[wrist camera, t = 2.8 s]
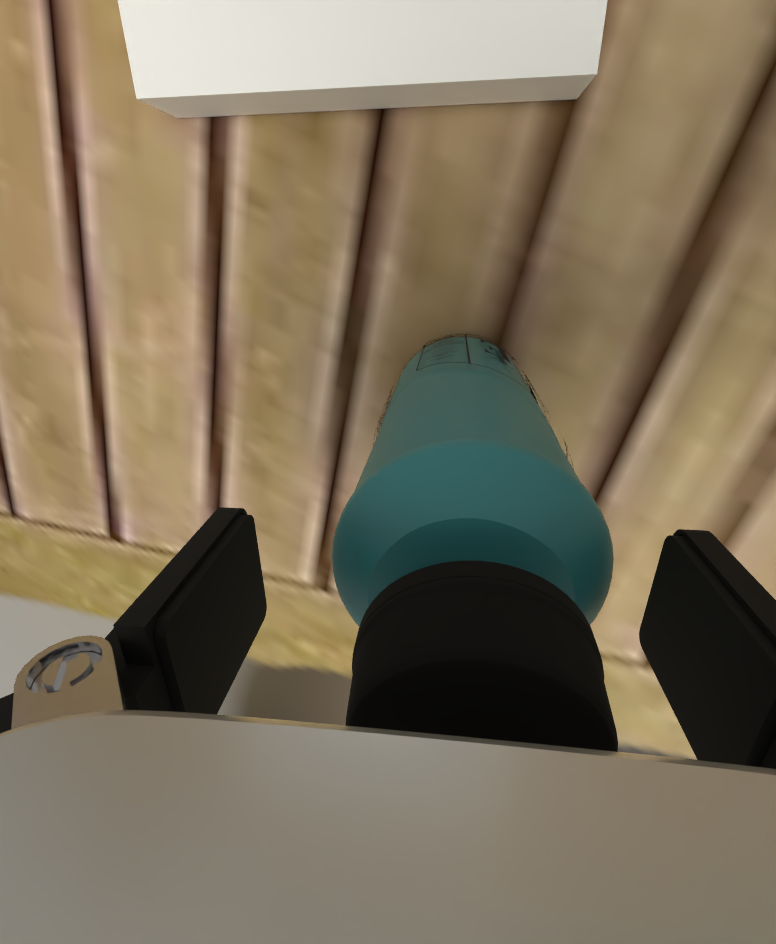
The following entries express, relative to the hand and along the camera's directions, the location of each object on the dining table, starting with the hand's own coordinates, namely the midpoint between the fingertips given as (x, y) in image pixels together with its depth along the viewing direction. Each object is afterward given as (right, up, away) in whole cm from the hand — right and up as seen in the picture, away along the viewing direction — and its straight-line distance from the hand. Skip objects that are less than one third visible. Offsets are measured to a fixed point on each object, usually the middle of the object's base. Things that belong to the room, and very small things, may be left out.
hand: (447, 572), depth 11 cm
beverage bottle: (+2, +7, +14) cm, 15 cm away
